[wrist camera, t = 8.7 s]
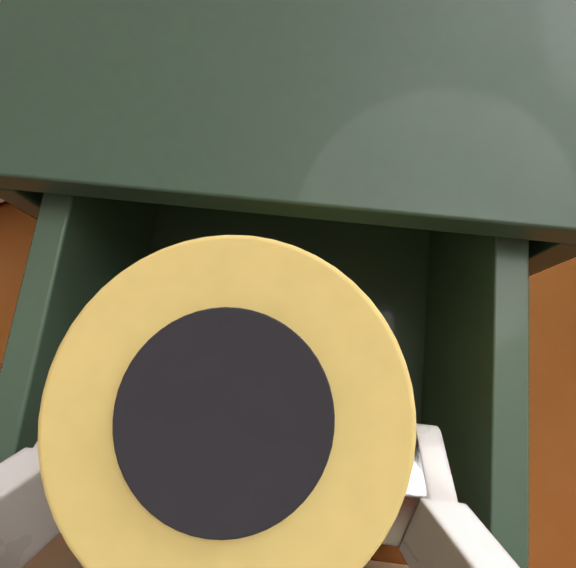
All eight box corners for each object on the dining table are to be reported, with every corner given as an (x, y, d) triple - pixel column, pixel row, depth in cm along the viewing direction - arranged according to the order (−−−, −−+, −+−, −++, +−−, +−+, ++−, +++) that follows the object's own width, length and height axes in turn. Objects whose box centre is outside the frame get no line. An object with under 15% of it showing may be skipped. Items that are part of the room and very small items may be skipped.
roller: (180, 399, 15) (-56, 460, 5) (259, 295, 15) (194, 162, 6) (286, 483, 14) (261, 751, 4) (363, 371, 15) (498, 374, 5)
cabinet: (466, 302, 17) (629, 235, 9) (115, 265, 18) (-52, 170, 9) (475, -18, 20) (603, -300, 12) (176, -38, 21) (91, -318, 13)
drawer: (444, 760, 13) (588, 1152, 7) (34, 695, 14) (-208, 991, 7) (463, 206, 17) (568, 99, 10) (137, 175, 18) (38, 56, 11)
